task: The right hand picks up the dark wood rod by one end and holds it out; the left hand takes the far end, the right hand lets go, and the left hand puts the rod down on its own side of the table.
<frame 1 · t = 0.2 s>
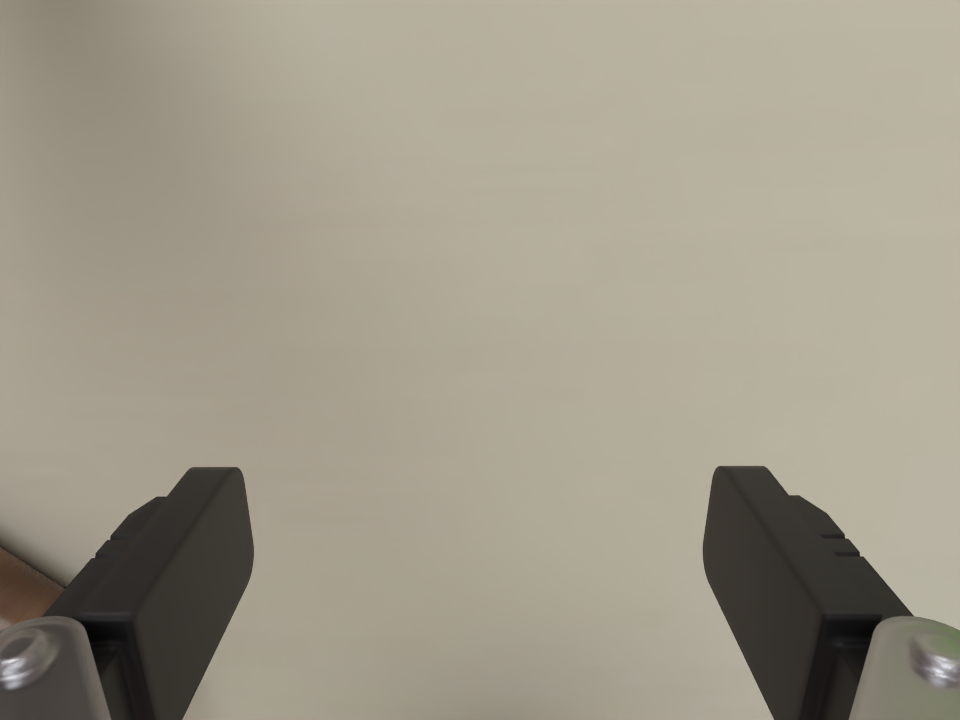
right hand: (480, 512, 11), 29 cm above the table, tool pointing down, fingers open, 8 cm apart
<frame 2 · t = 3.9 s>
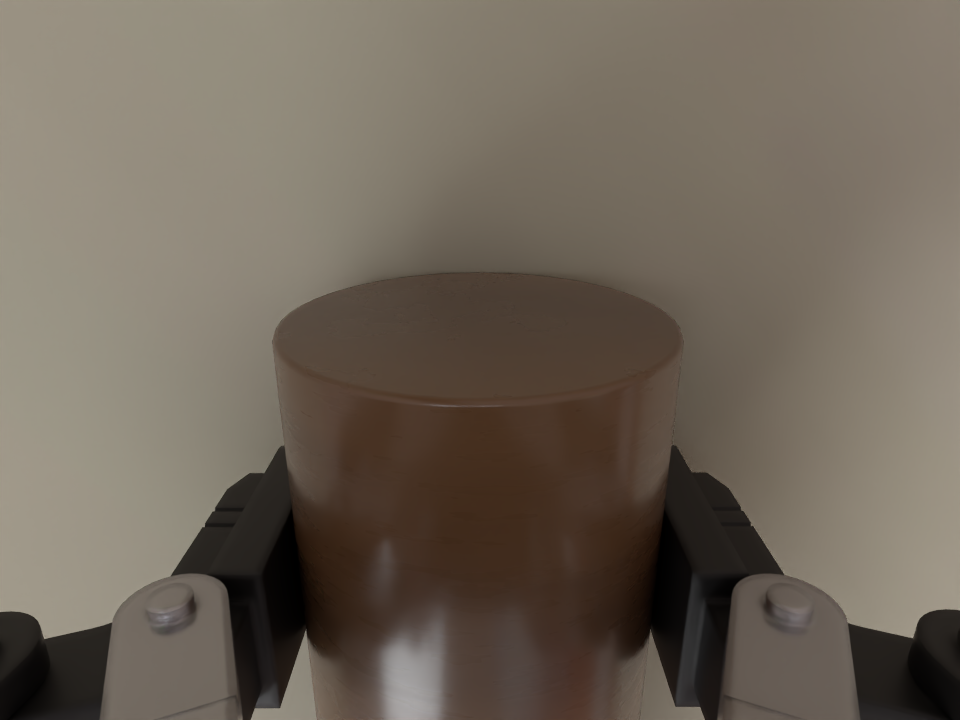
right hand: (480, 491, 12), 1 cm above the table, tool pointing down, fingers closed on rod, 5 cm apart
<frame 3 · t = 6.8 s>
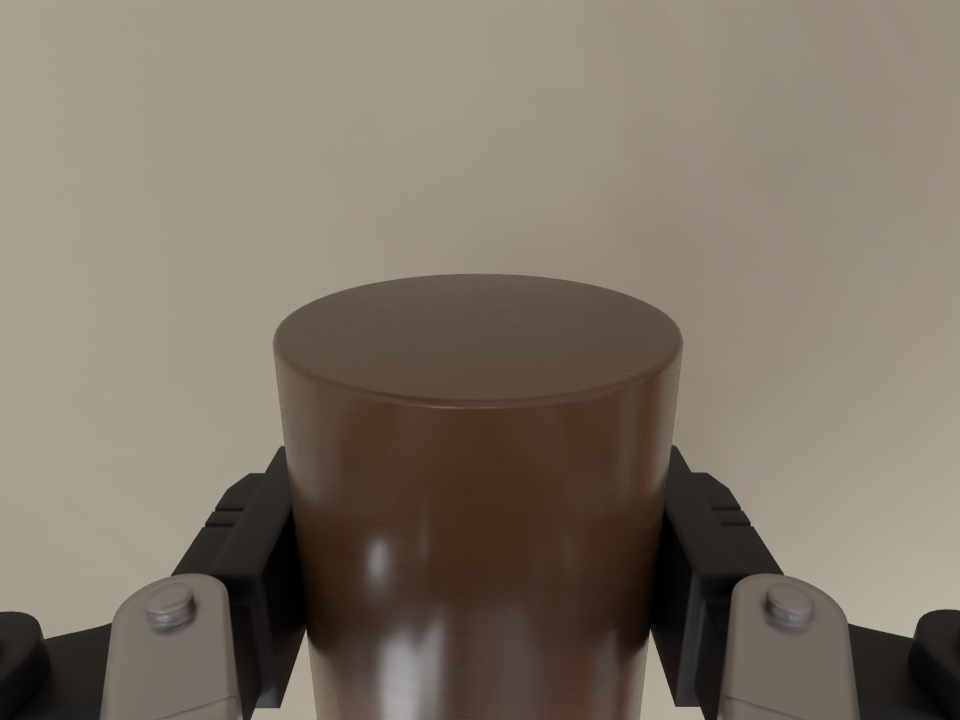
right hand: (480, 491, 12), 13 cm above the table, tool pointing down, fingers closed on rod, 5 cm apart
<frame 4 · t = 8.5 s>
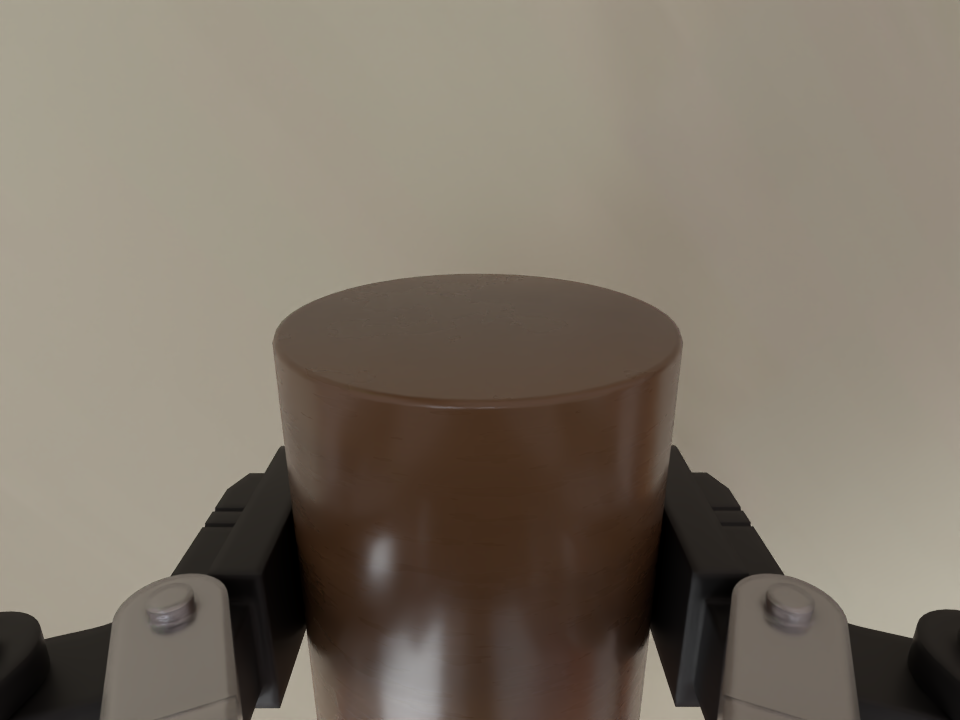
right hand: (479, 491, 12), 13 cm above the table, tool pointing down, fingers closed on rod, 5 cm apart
when the right hand's fingers open (13 cm above the table, at t = 9.6 s): rod stays where it is, held by the left hand.
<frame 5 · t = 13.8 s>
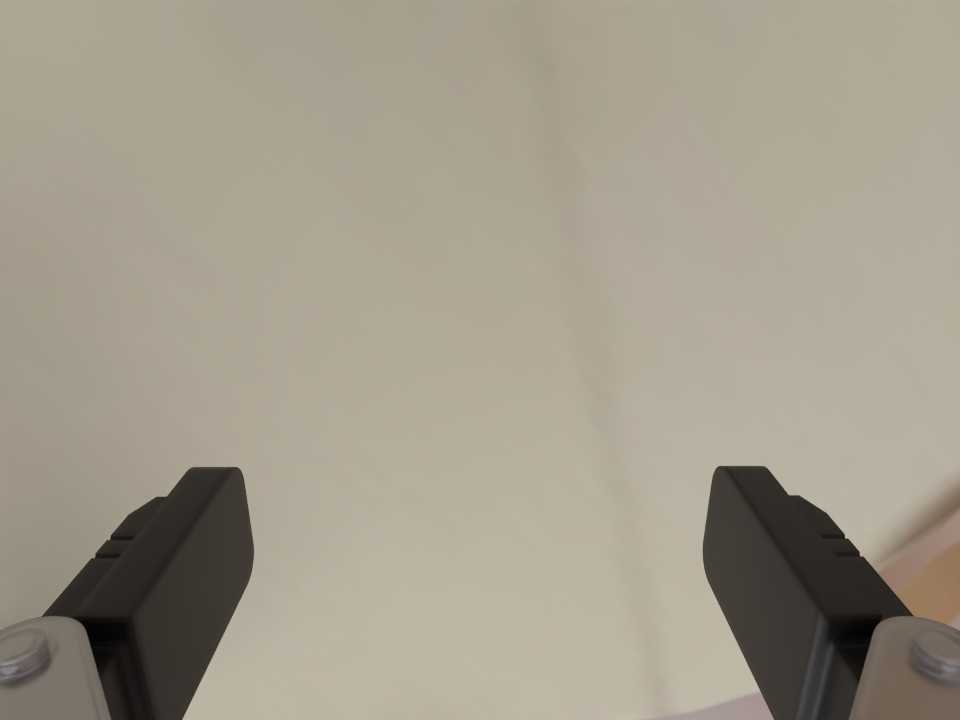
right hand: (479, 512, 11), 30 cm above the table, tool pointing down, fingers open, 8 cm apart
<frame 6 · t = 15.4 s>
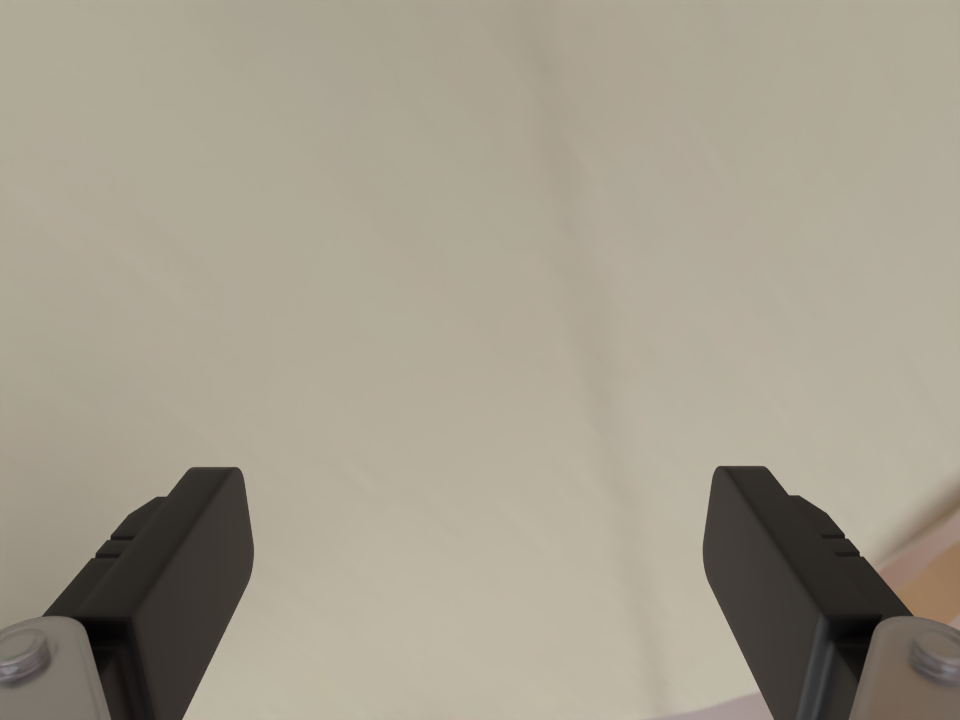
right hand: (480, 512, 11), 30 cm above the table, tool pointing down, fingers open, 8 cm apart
when the left hand's fingers open (3 cm above the table, at t = 17.6 s): rod stays where it is, on the table.
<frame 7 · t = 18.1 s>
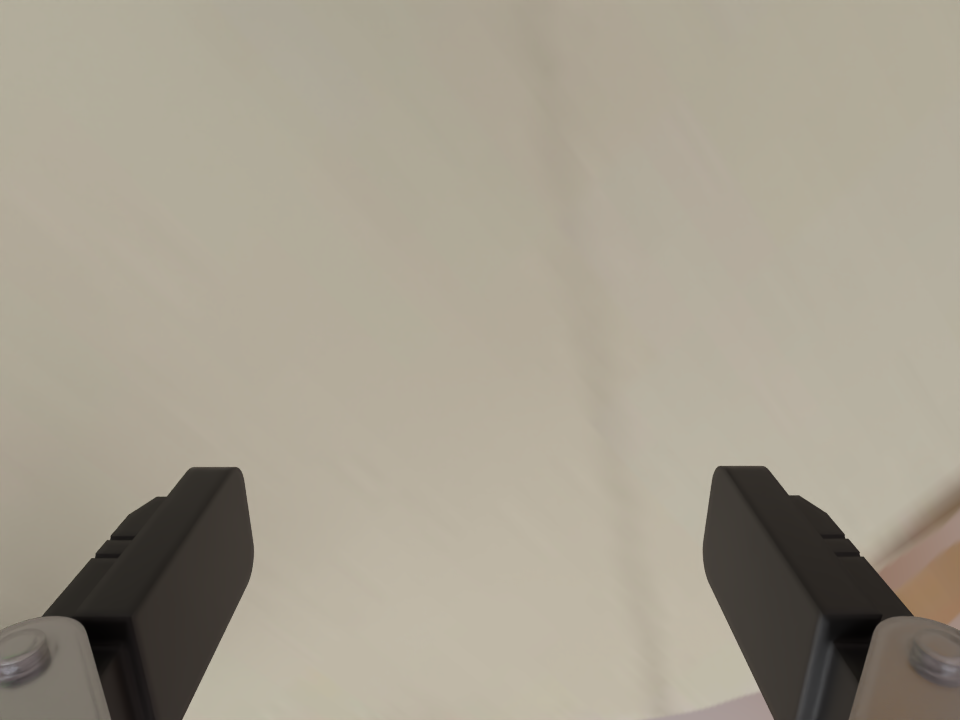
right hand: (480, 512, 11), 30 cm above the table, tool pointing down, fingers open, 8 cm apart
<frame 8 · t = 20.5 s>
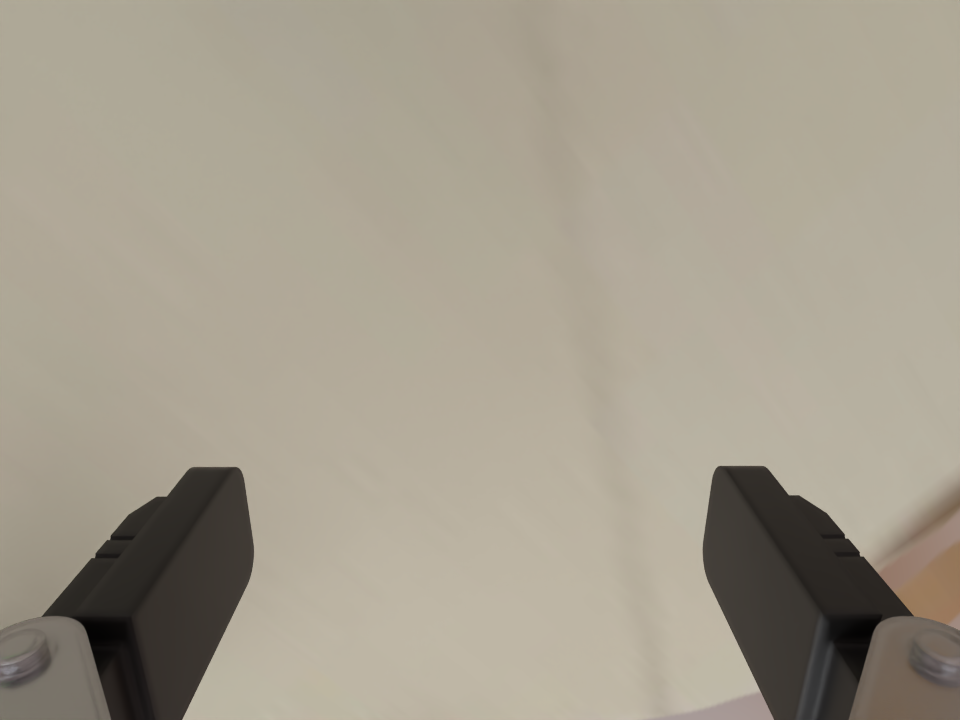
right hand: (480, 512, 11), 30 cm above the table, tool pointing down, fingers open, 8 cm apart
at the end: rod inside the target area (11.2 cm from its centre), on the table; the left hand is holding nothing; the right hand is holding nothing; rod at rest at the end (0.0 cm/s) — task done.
